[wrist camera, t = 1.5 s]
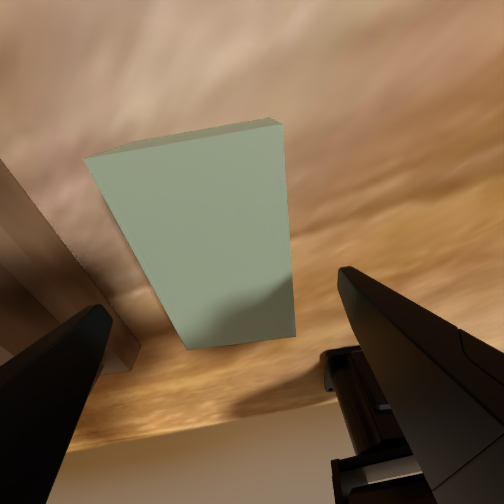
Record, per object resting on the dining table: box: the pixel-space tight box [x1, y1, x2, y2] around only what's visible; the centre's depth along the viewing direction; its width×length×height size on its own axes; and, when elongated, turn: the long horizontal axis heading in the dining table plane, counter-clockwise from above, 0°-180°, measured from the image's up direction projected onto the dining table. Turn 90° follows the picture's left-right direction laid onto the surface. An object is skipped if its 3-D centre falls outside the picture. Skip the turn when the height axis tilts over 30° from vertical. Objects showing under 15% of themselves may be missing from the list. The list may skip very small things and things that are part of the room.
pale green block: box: [83, 118, 296, 350], centre depth 11 cm, size 10×6×4 cm, turn 9°
